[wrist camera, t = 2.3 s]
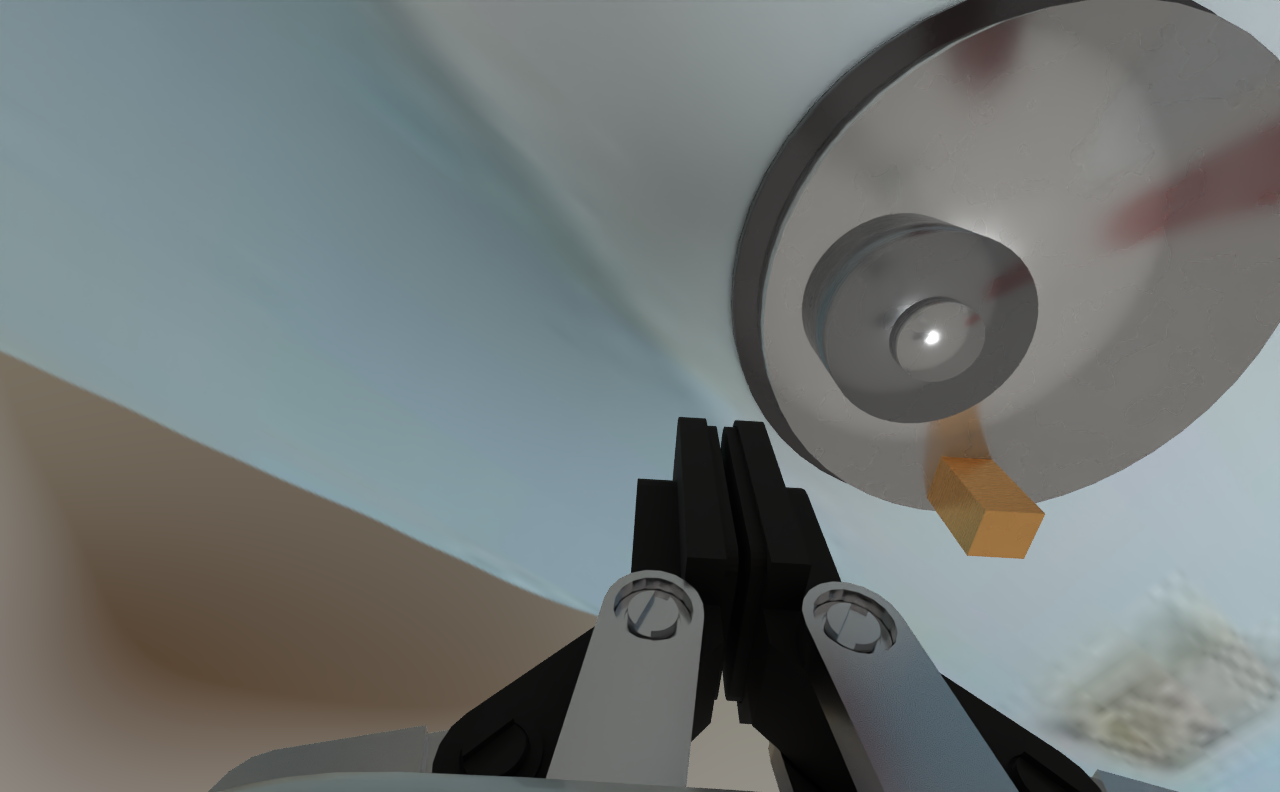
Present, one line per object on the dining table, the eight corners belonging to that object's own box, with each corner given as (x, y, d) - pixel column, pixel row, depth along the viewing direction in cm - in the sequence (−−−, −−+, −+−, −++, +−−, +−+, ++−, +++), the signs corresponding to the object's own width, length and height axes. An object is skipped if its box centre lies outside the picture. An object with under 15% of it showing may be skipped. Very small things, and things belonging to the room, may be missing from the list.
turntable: (800, -6, 20) (852, -52, 14) (1391, 23, 20) (1665, -13, 14) (730, 476, 29) (746, 557, 24) (1128, 499, 29) (1233, 585, 24)
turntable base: (770, -33, 20) (775, -41, 20) (1395, -3, 20) (1428, -9, 19) (707, 477, 31) (709, 487, 30) (1120, 500, 31) (1134, 511, 30)
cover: (819, 208, 21) (859, 231, 17) (1002, 217, 21) (1089, 243, 17) (788, 373, 24) (816, 429, 20) (947, 383, 24) (1009, 439, 20)
